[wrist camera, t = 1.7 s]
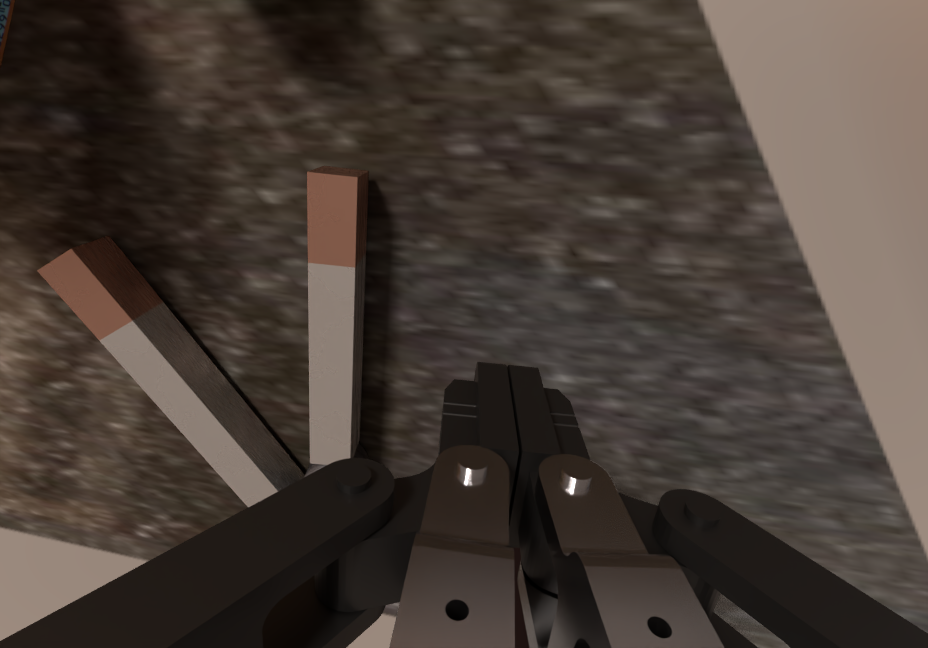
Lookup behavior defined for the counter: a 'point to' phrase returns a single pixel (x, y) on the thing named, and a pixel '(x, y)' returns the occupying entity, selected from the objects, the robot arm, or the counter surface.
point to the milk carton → (5, 23)
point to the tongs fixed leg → (170, 367)
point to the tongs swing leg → (336, 311)
